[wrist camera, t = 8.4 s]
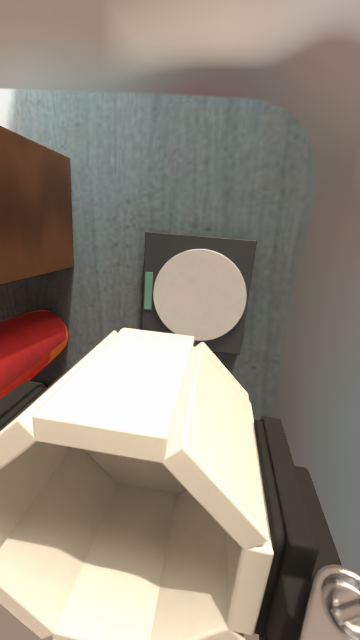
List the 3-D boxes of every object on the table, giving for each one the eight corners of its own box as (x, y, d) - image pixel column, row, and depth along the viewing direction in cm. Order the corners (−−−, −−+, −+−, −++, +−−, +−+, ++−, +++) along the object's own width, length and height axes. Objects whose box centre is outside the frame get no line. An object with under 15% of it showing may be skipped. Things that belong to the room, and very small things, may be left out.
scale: (148, 231, 30) (144, 231, 29) (255, 240, 29) (257, 240, 27) (144, 337, 34) (140, 344, 32) (239, 349, 33) (240, 356, 31)
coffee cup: (13, 294, 35) (-130, 339, 21) (78, 306, 34) (-25, 360, 20) (16, 357, 38) (-110, 434, 23) (76, 369, 37) (-16, 456, 23)
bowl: (63, 320, 10) (-77, 397, 5) (261, 344, 9) (299, 458, 5) (70, 473, 12) (-27, 626, 7) (233, 503, 11) (240, 695, 7)
